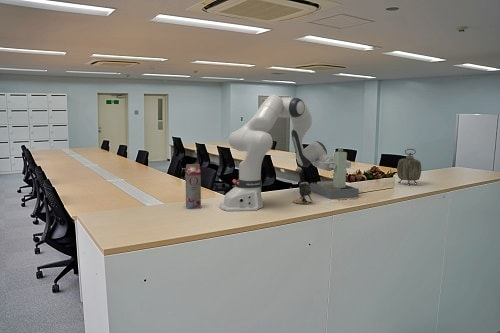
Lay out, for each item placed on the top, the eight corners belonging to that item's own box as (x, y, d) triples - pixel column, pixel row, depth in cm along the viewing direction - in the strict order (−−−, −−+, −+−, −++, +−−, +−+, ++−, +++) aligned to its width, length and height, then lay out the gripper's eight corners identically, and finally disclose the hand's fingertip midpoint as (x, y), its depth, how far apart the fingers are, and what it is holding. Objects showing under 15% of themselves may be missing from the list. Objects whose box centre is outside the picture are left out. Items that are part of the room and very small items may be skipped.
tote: (330, 201, 215) (330, 190, 215) (310, 192, 238) (310, 183, 237) (358, 199, 221) (358, 188, 220) (336, 191, 244) (336, 181, 243)
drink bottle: (337, 188, 220) (339, 149, 217) (333, 186, 225) (334, 148, 222) (345, 187, 222) (347, 148, 219) (340, 185, 226) (342, 148, 223)
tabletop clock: (418, 184, 272) (420, 148, 269) (420, 186, 264) (423, 149, 260) (396, 183, 276) (398, 147, 272) (398, 185, 267) (400, 149, 264)
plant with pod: (304, 206, 202) (305, 168, 200) (290, 202, 212) (291, 165, 209) (315, 204, 207) (317, 167, 204) (301, 200, 216) (302, 165, 213)
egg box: (322, 194, 229) (322, 183, 229) (316, 191, 237) (316, 181, 236) (340, 192, 233) (340, 183, 232) (333, 190, 241) (333, 180, 240)
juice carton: (200, 208, 195) (200, 164, 192) (187, 209, 193) (187, 165, 190) (198, 205, 201) (198, 163, 199) (185, 206, 200) (185, 163, 197)
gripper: (313, 158, 230) (324, 161, 217) (343, 157, 236) (356, 160, 224) (312, 169, 231) (324, 172, 218) (342, 167, 237) (355, 171, 224)
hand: (340, 166), depth 221 cm, fingers closed on drink bottle, 5 cm apart
